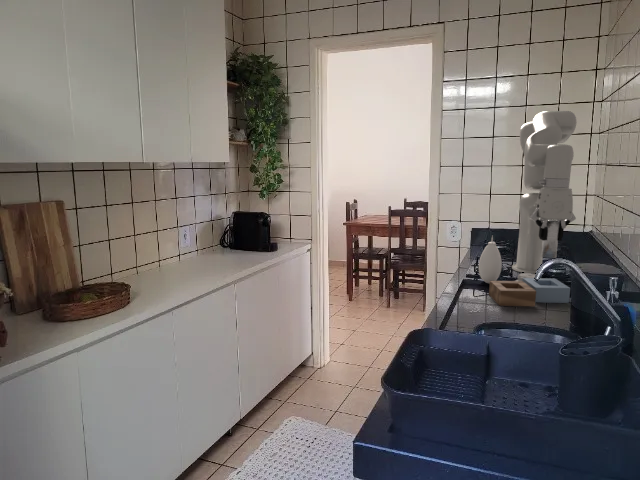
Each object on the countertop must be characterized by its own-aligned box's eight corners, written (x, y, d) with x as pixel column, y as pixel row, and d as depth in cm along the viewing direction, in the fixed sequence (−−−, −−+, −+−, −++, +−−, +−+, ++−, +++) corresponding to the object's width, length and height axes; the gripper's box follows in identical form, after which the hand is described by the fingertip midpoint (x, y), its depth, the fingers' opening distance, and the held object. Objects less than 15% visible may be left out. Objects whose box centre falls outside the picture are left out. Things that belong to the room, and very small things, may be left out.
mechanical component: (516, 290, 165) (546, 292, 163) (517, 278, 164) (548, 280, 162) (511, 282, 174) (540, 284, 172) (512, 271, 174) (541, 272, 171)
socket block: (521, 291, 162) (522, 278, 161) (553, 292, 162) (554, 278, 161) (534, 302, 152) (535, 287, 151) (568, 302, 151) (570, 288, 150)
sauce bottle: (482, 278, 178) (485, 232, 175) (502, 282, 173) (506, 235, 170) (474, 283, 172) (477, 235, 169) (495, 287, 168) (499, 238, 164)
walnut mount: (488, 294, 159) (489, 280, 158) (521, 295, 158) (522, 281, 157) (499, 305, 148) (500, 290, 147) (534, 306, 148) (536, 291, 147)
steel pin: (539, 255, 156) (542, 219, 154) (552, 255, 156) (556, 219, 153) (544, 258, 152) (548, 221, 149) (558, 258, 151) (562, 221, 149)
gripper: (534, 184, 146) (528, 241, 149) (589, 185, 145) (582, 242, 149) (524, 182, 153) (519, 237, 157) (577, 183, 152) (570, 238, 156)
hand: (550, 239), depth 153 cm, fingers closed on steel pin, 4 cm apart
